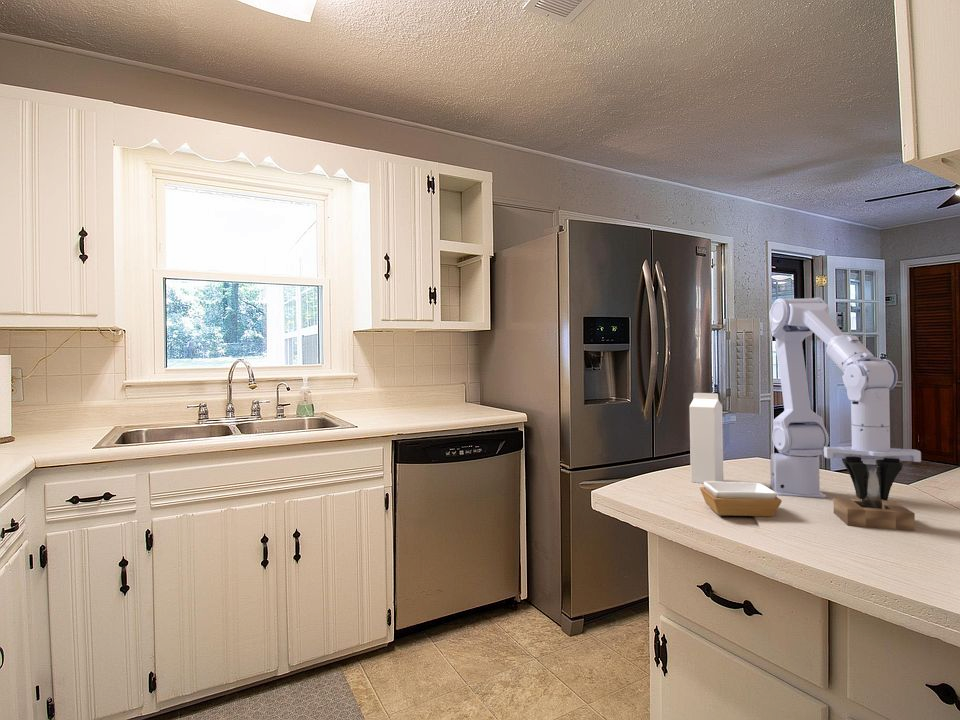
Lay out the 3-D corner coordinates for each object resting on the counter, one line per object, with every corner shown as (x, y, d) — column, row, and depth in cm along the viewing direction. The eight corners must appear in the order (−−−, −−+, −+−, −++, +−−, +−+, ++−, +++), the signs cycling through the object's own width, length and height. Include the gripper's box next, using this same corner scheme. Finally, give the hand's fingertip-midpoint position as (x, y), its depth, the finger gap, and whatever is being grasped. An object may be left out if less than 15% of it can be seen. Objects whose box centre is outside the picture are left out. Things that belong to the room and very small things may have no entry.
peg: (865, 514, 95) (864, 465, 95) (859, 509, 98) (858, 462, 98) (885, 515, 94) (884, 466, 94) (878, 511, 97) (877, 462, 97)
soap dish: (714, 518, 100) (714, 492, 100) (699, 504, 110) (698, 480, 110) (782, 519, 99) (782, 492, 99) (761, 505, 109) (760, 480, 109)
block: (847, 525, 94) (847, 508, 94) (833, 512, 102) (833, 497, 102) (914, 530, 91) (914, 513, 91) (895, 517, 98) (894, 501, 98)
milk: (715, 485, 125) (714, 394, 125) (690, 481, 129) (688, 393, 129) (723, 480, 130) (722, 392, 129) (699, 477, 134) (697, 391, 133)
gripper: (831, 426, 95) (832, 501, 95) (928, 429, 90) (930, 507, 90) (820, 422, 101) (821, 491, 101) (910, 424, 97) (911, 497, 97)
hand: (871, 498), depth 96 cm, fingers closed on peg, 3 cm apart
